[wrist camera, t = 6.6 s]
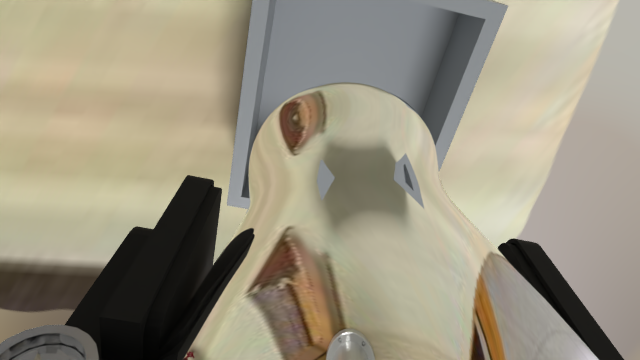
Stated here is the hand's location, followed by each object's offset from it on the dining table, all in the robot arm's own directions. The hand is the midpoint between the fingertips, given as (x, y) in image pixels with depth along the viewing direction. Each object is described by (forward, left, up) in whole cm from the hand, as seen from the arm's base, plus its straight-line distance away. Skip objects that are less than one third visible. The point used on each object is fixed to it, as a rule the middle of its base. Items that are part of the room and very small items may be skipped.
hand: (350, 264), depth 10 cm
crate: (+4, +2, -25) cm, 26 cm away
